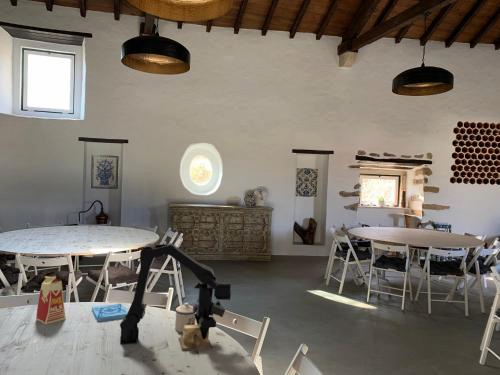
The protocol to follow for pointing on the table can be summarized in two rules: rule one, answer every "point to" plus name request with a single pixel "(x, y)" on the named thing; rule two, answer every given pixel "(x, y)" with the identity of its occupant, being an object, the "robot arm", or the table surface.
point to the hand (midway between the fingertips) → (202, 335)
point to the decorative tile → (109, 312)
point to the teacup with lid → (184, 317)
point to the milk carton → (51, 301)
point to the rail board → (194, 344)
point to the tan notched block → (193, 330)
